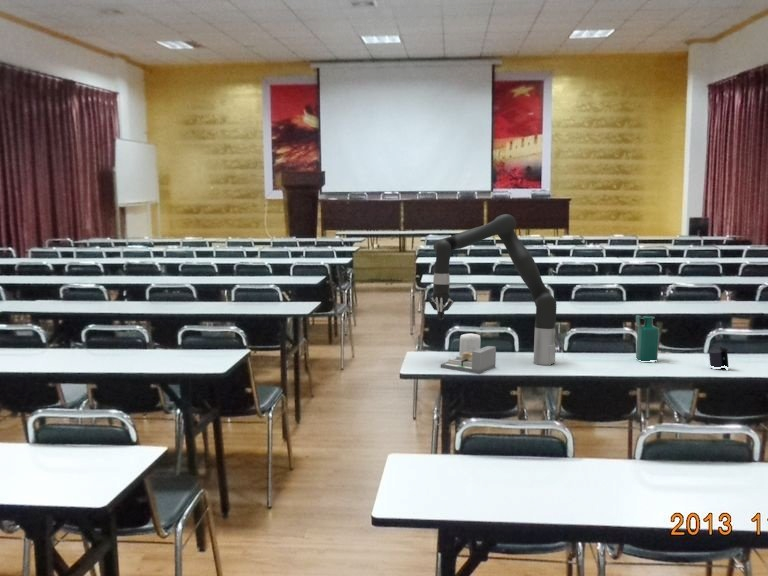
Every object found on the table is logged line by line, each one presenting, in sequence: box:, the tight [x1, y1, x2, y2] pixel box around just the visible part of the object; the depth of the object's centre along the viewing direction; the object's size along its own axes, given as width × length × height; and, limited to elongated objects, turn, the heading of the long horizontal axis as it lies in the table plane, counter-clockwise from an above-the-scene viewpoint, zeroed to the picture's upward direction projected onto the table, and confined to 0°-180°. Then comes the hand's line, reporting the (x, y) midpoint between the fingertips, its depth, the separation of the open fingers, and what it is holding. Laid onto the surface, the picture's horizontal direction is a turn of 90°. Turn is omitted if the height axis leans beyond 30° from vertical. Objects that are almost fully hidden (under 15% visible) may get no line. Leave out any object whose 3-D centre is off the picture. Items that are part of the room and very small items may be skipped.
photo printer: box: [458, 333, 481, 357], centre depth 344 cm, size 10×4×12 cm, turn 98°
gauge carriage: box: [461, 351, 472, 366], centre depth 324 cm, size 5×11×5 cm, turn 146°
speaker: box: [708, 346, 729, 367], centre depth 328 cm, size 8×6×10 cm
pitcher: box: [635, 314, 660, 361], centre depth 343 cm, size 10×8×22 cm
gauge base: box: [440, 345, 497, 375], centre depth 326 cm, size 20×16×10 cm
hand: (440, 319), depth 332 cm, fingers closed
